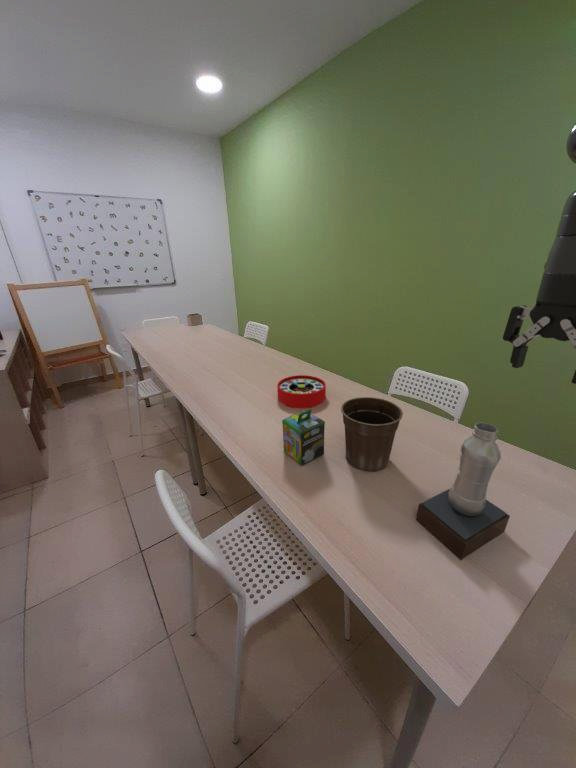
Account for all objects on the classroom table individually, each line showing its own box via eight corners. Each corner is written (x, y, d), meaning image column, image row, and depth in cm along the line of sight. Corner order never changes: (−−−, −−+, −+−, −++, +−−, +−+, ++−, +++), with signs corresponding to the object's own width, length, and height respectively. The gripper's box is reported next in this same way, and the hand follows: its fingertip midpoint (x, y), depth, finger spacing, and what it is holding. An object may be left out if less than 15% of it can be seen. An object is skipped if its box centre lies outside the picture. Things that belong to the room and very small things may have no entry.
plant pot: (341, 439, 97) (343, 394, 90) (394, 445, 93) (400, 398, 87) (335, 471, 83) (338, 421, 76) (397, 480, 79) (405, 428, 72)
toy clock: (301, 399, 111) (267, 384, 124) (302, 413, 113) (268, 397, 127) (335, 383, 123) (301, 371, 137) (335, 396, 126) (301, 383, 139)
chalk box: (305, 440, 97) (305, 399, 91) (325, 454, 90) (326, 410, 84) (282, 451, 92) (280, 408, 86) (301, 466, 85) (300, 421, 79)
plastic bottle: (455, 492, 68) (475, 414, 60) (488, 510, 63) (514, 429, 55) (440, 505, 64) (459, 425, 56) (473, 526, 59) (499, 441, 51)
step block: (457, 497, 73) (461, 481, 71) (504, 531, 64) (510, 514, 62) (415, 519, 67) (418, 502, 65) (460, 560, 58) (466, 542, 56)
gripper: (661, 268, 39) (613, 383, 45) (536, 267, 51) (512, 358, 57) (635, 273, 36) (588, 395, 42) (509, 270, 48) (487, 366, 54)
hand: (544, 374), depth 50 cm, fingers open, 8 cm apart
